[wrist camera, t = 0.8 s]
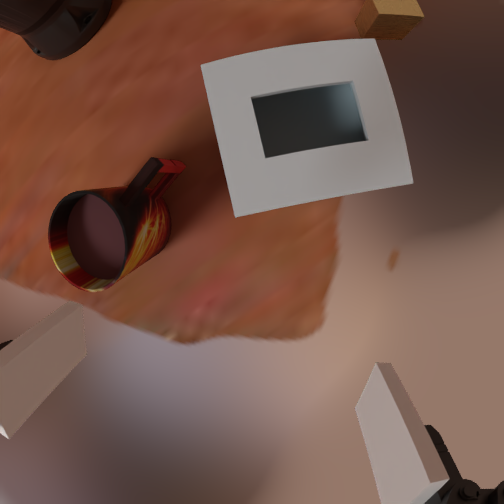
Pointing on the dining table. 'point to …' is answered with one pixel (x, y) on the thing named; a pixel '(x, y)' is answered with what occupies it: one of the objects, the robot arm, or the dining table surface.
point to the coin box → (305, 124)
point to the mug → (112, 228)
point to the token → (388, 19)
